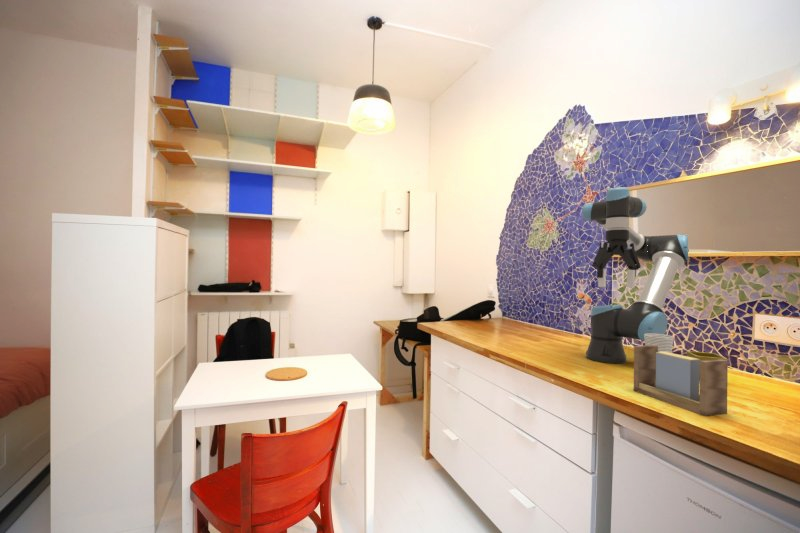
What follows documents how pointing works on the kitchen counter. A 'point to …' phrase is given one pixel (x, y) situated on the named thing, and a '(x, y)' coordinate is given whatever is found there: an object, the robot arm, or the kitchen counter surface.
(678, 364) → the door panel
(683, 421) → the kitchen counter surface
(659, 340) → the cup
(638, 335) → the robot arm
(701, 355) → the flower pot
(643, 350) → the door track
